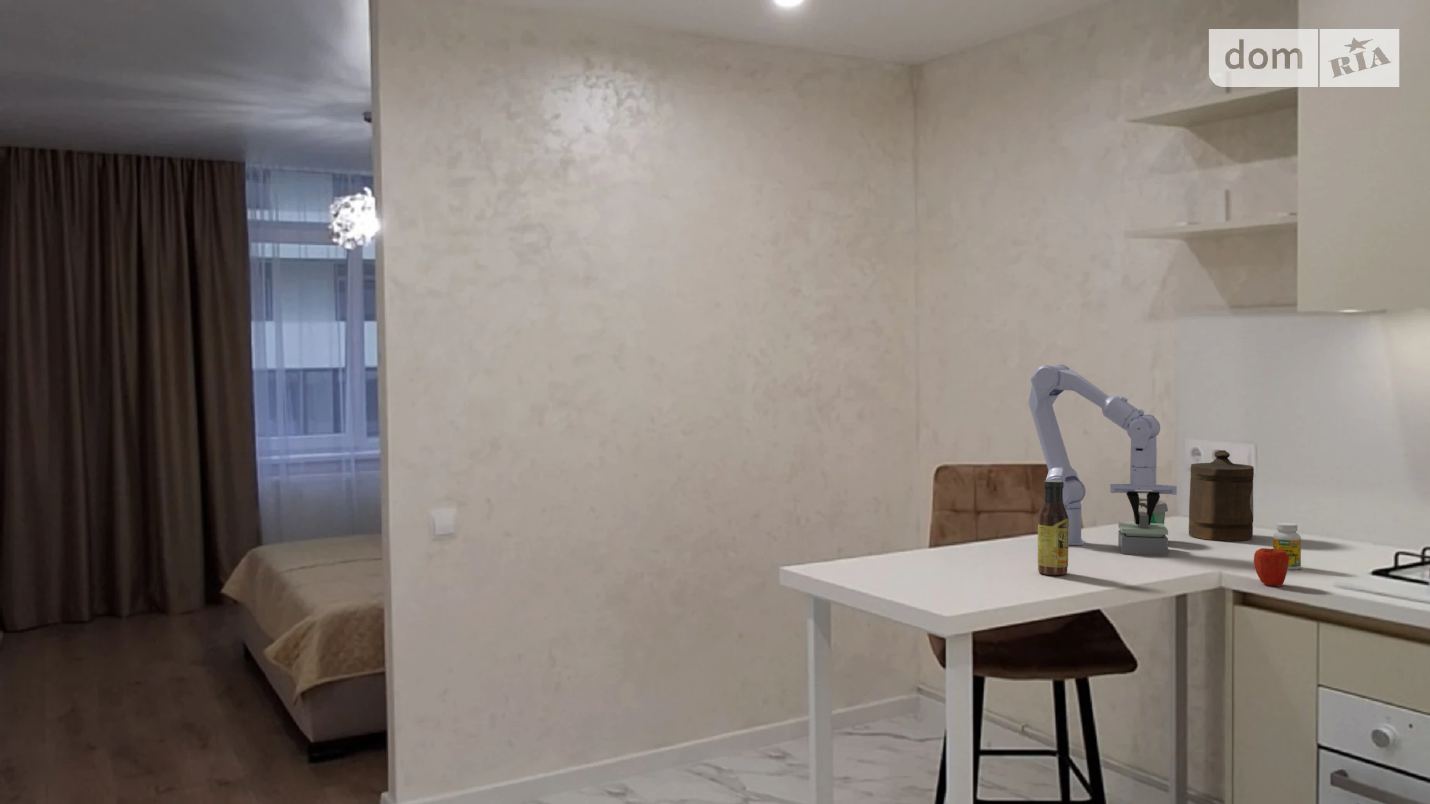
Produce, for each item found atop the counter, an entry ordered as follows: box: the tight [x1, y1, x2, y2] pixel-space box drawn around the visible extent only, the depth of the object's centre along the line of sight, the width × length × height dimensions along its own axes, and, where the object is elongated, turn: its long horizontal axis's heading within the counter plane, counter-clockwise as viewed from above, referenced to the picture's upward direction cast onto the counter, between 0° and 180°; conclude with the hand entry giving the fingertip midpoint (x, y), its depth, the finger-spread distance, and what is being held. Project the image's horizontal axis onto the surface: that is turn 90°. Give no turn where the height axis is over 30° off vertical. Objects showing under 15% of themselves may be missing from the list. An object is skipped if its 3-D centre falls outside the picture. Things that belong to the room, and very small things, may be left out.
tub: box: [1117, 529, 1169, 557], centre depth 261 cm, size 10×10×4 cm
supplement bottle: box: [1272, 522, 1302, 571], centre depth 240 cm, size 5×5×10 cm
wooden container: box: [1188, 449, 1255, 542], centre depth 280 cm, size 15×15×22 cm
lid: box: [1117, 511, 1169, 537], centre depth 261 cm, size 10×10×5 cm
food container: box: [1133, 497, 1169, 525], centre depth 275 cm, size 12×6×10 cm, turn 179°
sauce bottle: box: [1037, 479, 1069, 576], centre depth 236 cm, size 7×6×20 cm
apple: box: [1253, 547, 1289, 587], centre depth 223 cm, size 6×6×8 cm
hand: (1142, 524), depth 261 cm, fingers closed on lid
